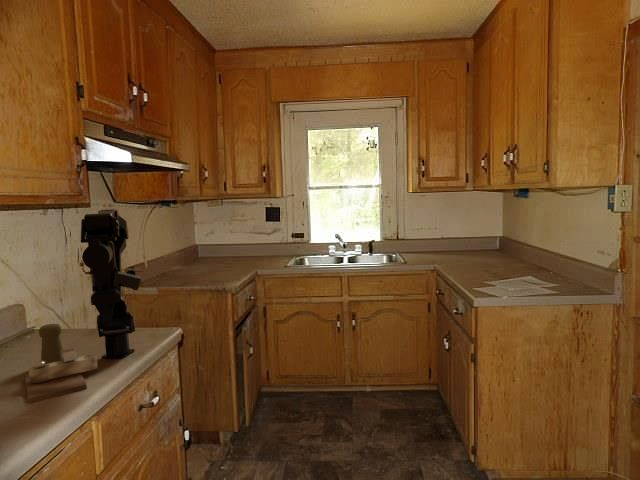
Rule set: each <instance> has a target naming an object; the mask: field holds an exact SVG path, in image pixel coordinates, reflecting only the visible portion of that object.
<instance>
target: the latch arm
mask: <svg viewBox="0 0 640 480" xmlns="http://www.w3.org/2000/svg"><path fill="white" fill-rule="evenodd" d="M97 356H98V355H97V354H88V355H83V356H78V359H75V360H70V361H66V362H64V361H58V362H53V363H49V364H46V366H44V367H42V368H33V366H30V367H29V368H28V374H29V377H30V382H31V383H40V382H44V381H47V380H49V379H54V378H58V377H62V376H67V375H71V374H76V373H80V372H81V373H83V372H89V371H93V370H96V369H98V357H97Z"/></svg>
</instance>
